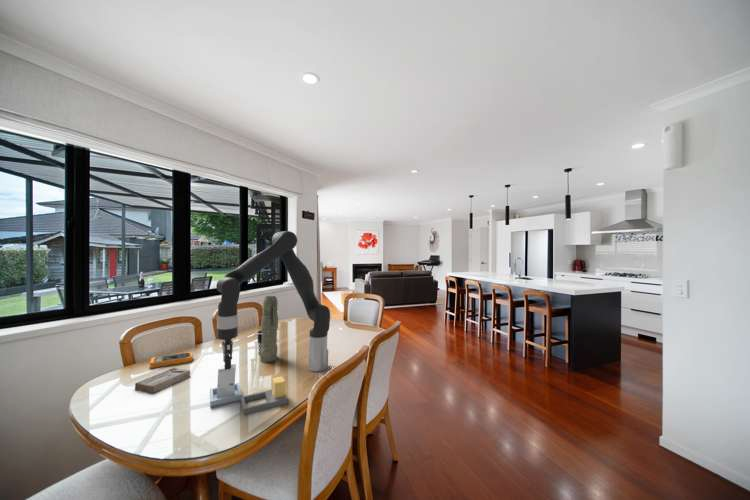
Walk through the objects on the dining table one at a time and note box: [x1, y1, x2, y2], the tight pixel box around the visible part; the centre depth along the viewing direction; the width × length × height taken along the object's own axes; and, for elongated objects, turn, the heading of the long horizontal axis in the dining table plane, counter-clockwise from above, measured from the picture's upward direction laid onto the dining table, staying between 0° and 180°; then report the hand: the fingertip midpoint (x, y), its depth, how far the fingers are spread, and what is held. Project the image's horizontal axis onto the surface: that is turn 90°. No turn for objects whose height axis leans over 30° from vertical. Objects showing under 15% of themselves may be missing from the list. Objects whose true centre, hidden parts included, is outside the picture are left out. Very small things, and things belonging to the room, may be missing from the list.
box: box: [134, 367, 191, 394], centre depth 125 cm, size 11×17×3 cm, turn 164°
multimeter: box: [149, 351, 194, 369], centre depth 147 cm, size 9×18×3 cm, turn 122°
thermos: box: [259, 295, 279, 363], centre depth 155 cm, size 9×12×35 cm
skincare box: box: [216, 364, 237, 399], centre depth 115 cm, size 6×4×12 cm
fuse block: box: [240, 376, 288, 415], centre depth 112 cm, size 16×10×8 cm, turn 122°
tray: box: [209, 382, 243, 409], centre depth 114 cm, size 11×11×2 cm
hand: (227, 365), depth 114 cm, fingers open, 8 cm apart
